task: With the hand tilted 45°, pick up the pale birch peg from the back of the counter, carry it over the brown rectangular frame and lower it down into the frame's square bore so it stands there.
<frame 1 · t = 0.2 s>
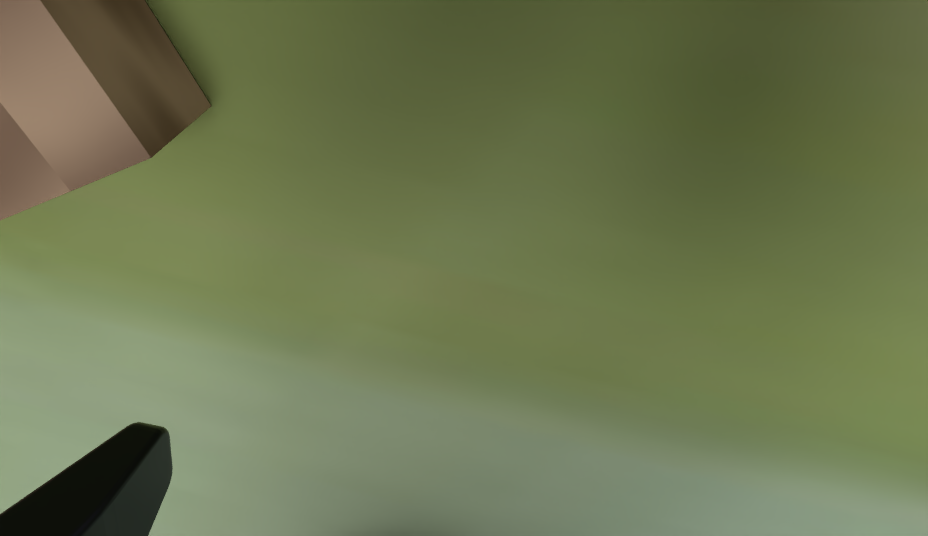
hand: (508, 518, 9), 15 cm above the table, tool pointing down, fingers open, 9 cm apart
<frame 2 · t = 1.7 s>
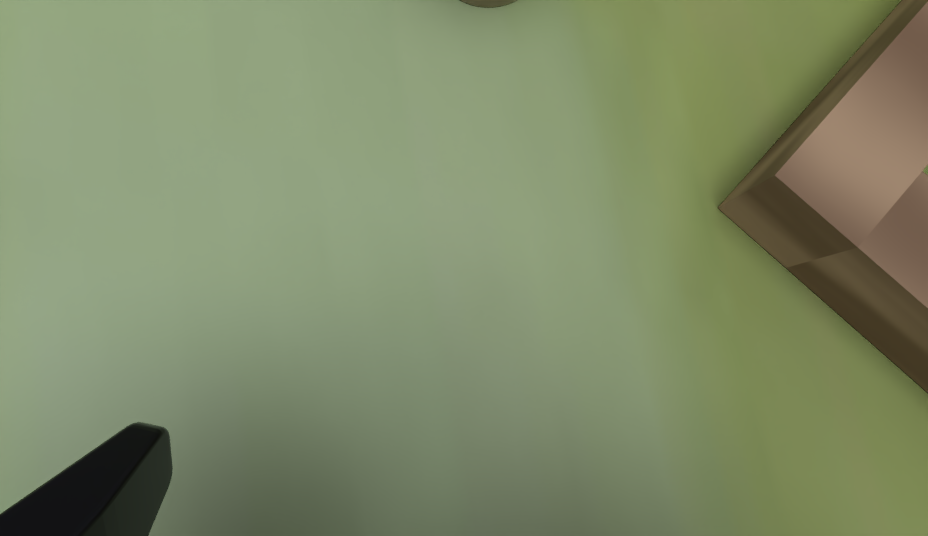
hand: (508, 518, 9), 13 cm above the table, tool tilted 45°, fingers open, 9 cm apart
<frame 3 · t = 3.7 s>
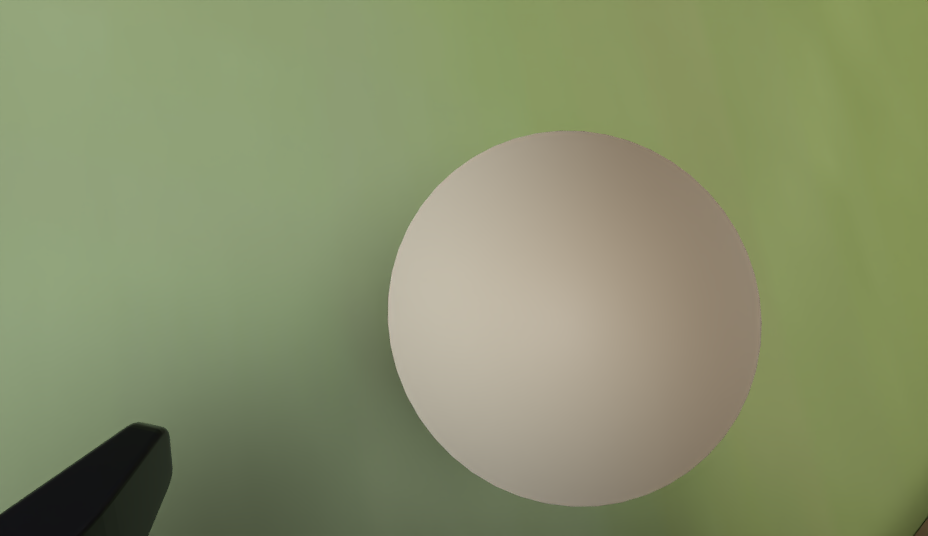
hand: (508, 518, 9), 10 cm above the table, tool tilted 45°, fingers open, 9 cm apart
peg: (483, 360, 19), on the table
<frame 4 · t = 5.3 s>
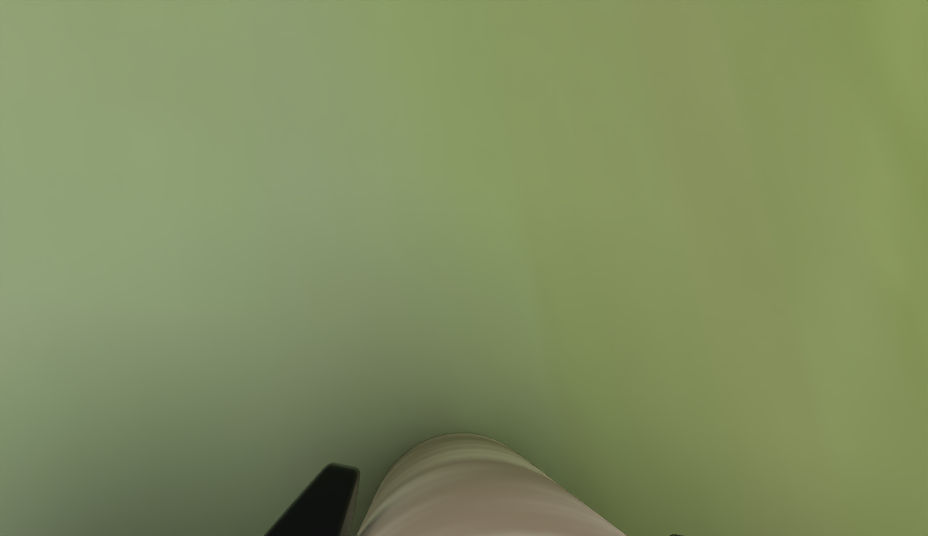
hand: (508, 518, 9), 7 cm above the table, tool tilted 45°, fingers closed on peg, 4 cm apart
peg: (460, 526, 15), on the table, touching gripper
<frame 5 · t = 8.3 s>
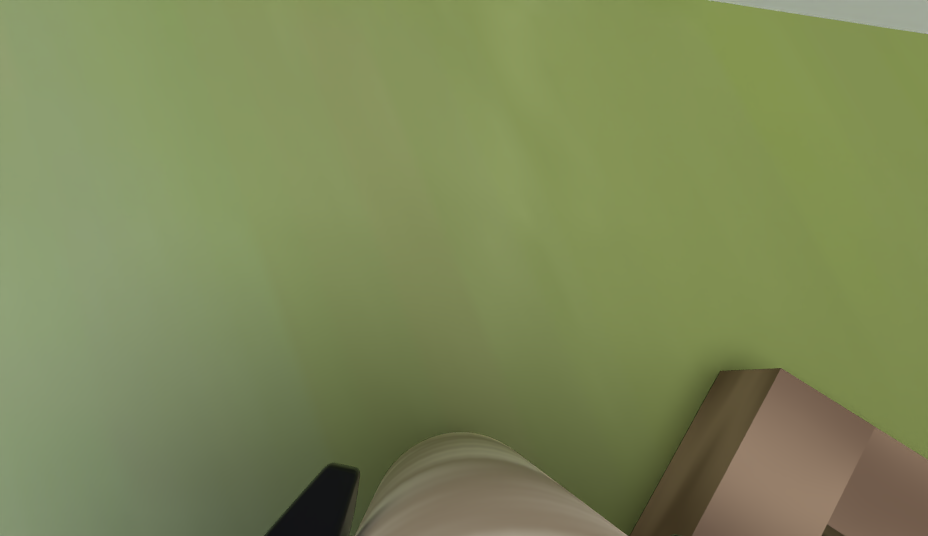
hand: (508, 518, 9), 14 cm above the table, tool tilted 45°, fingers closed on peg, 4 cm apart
peg: (460, 525, 15), point 7 cm above the table, touching gripper
when the fingers open (9 cm above the table, at t = 11.5 s): peg drops 2 cm, resting in brown rectangular frame.
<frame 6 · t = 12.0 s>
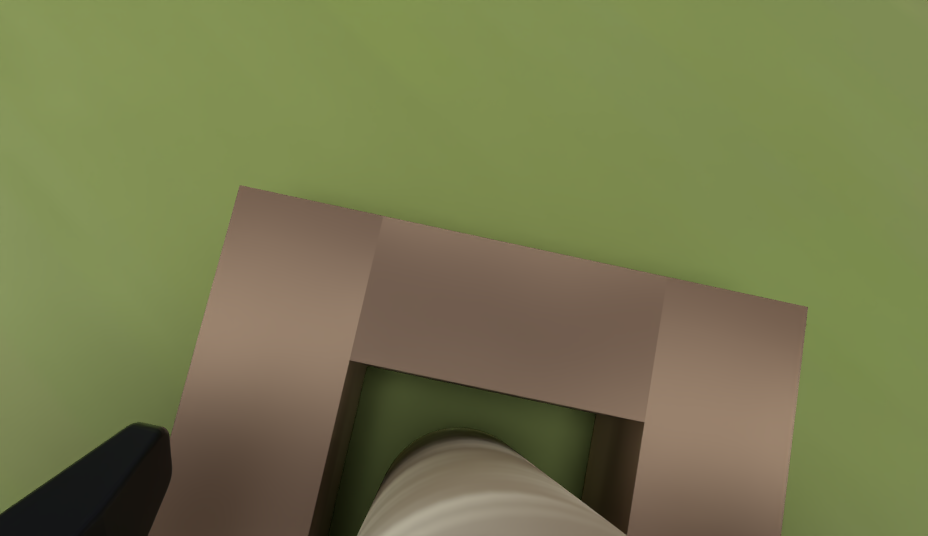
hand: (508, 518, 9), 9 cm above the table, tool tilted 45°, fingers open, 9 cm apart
peg: (457, 510, 17), resting in brown rectangular frame
brown rectangular frame: (457, 509, 17), on the table
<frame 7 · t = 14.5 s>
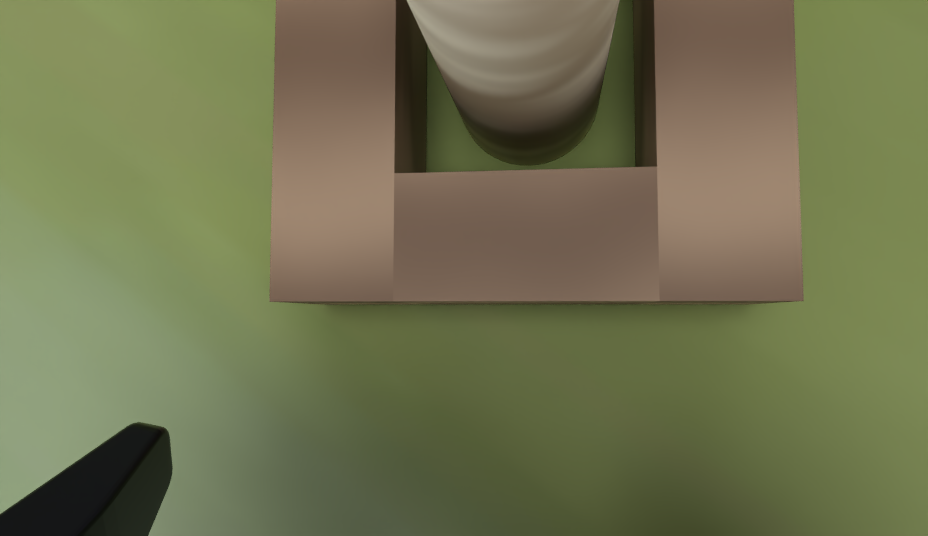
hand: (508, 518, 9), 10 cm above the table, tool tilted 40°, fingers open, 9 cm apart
peg: (528, 97, 20), resting in brown rectangular frame
brown rectangular frame: (528, 97, 20), on the table
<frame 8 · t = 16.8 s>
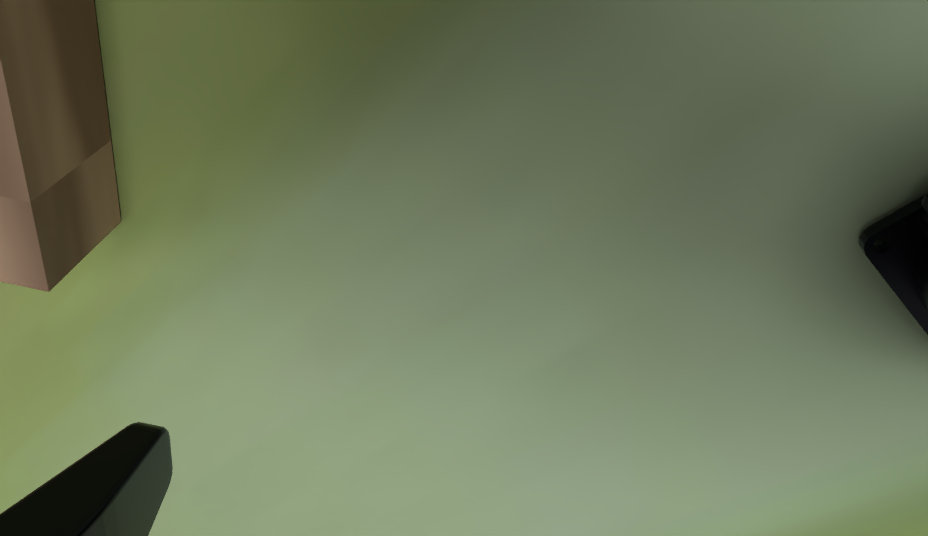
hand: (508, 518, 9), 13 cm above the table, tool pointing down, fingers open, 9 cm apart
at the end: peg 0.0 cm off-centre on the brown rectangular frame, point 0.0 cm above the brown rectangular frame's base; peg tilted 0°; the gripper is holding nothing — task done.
